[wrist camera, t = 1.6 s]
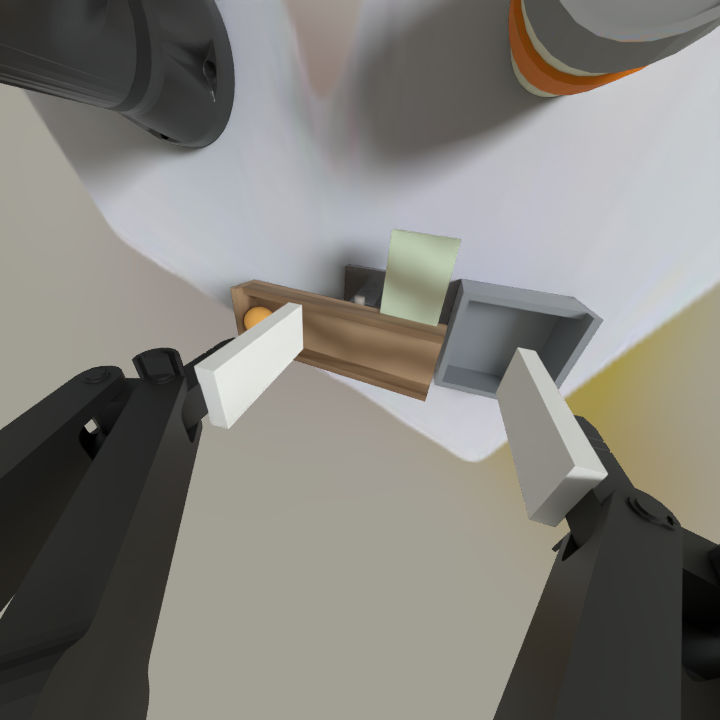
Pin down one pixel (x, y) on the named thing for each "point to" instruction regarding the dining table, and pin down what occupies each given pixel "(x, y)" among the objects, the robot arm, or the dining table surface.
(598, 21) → the reusable coffee cup
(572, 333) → the grey tray
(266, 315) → the ball
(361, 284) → the stand
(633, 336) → the dining table surface
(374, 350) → the chute
